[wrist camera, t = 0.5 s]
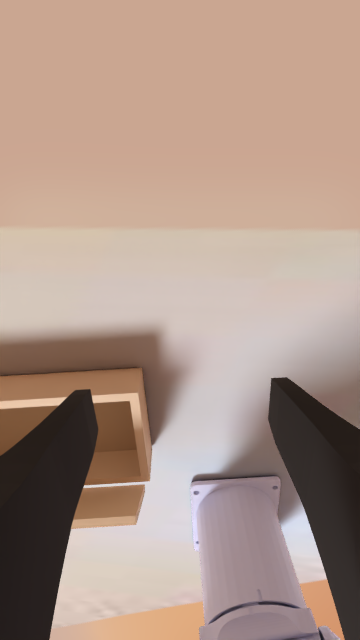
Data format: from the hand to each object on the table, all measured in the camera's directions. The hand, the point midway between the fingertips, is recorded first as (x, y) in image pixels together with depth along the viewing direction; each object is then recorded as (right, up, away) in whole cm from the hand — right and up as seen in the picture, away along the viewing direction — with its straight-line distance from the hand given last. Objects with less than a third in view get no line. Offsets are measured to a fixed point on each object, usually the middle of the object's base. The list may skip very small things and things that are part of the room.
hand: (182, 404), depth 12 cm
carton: (-11, -4, +12) cm, 16 cm away
